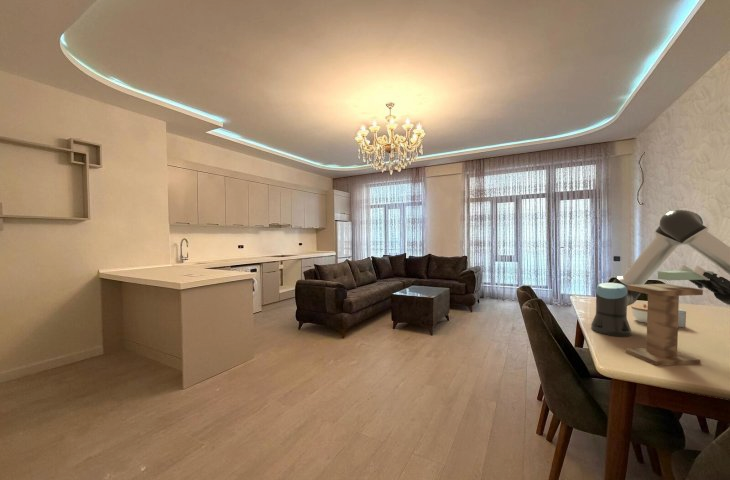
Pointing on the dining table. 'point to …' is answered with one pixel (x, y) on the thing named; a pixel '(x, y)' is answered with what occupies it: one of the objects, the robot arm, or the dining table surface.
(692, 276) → the sage bar
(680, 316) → the medicine box
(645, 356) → the walnut stand
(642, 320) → the lidded jar
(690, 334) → the dining table surface
